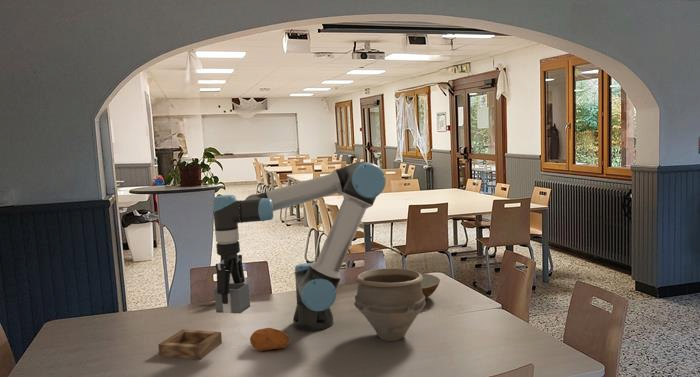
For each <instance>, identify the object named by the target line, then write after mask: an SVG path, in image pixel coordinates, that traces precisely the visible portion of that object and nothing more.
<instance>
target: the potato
mask: <svg viewBox="0 0 700 377" xmlns="http://www.w3.org/2000/svg"><path fill="white" fill-rule="evenodd" d="M249 342H250V345H251V346H252V347H253V349H255V350H258V352H259V351H260V352H263V351H268V350H276V349H284V348H285V347H287V346H288V345H289V343H290V336H289V334H288V333H286V332H284V331H282V330H279V329H275V328H272V327H265V328H260V329H257V330H255V331H253V333H252V334H251V335H250V337H249Z"/></svg>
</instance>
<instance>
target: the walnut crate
mask: <svg viewBox="0 0 700 377" xmlns="http://www.w3.org/2000/svg"><path fill="white" fill-rule="evenodd" d="M222 343H223V338H222V332H221V331H211V330H200V329H199V330H195V329H180V331H178V332H176V333H175V334H173V335H172V336H169V337H168V338H166V339H165V340H163V341H161V342H160V343H158V344H157V345H158V356H159V357H163V358H164V357H166V358H175V359H176V358H178V359H188V360H190V359H191V360H202V359H203V358H204V357H206V356H207V355H208V354H210V353H211V352H213V351H214V350H215V349H216V348H218V346H220V345H221V344H222Z"/></svg>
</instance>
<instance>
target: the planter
mask: <svg viewBox="0 0 700 377" xmlns="http://www.w3.org/2000/svg"><path fill="white" fill-rule="evenodd" d="M420 273H421V272H418V271H416V270H412V269H407V268H399V267H398V268H379V269H378V268H377V269H370V270H366V271H362V272H360V273H359V274H357V275H356V277H355V282H356V283H357V291H356V294H355V296H354V300H355V302H354V304H353V305H354V306H355V308H357V310H358V311H359V312H360V313H361V315H363V317H364V318H365V319H366V320H367V321H368V322H369V324H370V325H371V327H372V328H373V329H374V331H375V332H376V334H377V336H378V337H379V338H380V340H383V341H387V342H390V341H391V342H394V341H400V340H401V339H403V338H404V337H406V334H407V332H408V330H409V329H410V327H411V326H412V324H413V323H414V321H415V320H416V318H417V317H418V316H419V314H420V312H421V311H422V310H423V308H425V306H426V305H427V304H426V299H425V295H424V294H423V292H422V287H421V281H422V280H423V276H422V275H421V274H420Z"/></svg>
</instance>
